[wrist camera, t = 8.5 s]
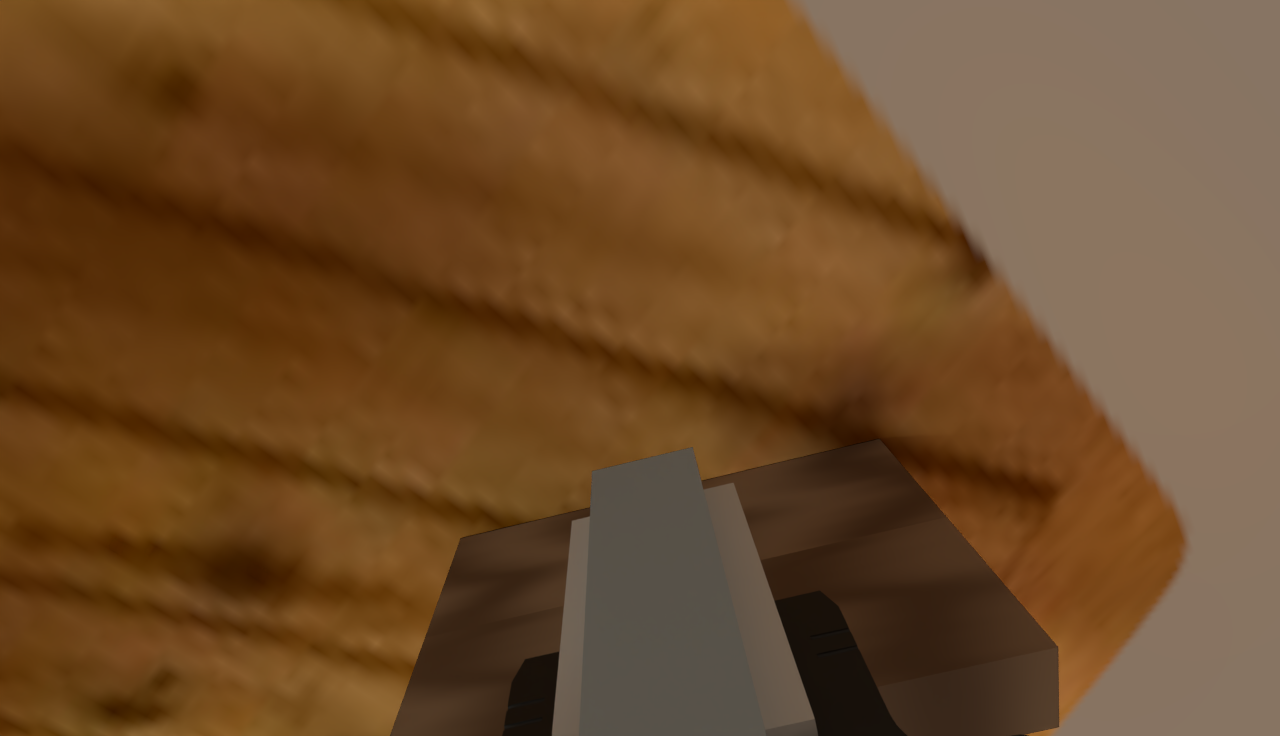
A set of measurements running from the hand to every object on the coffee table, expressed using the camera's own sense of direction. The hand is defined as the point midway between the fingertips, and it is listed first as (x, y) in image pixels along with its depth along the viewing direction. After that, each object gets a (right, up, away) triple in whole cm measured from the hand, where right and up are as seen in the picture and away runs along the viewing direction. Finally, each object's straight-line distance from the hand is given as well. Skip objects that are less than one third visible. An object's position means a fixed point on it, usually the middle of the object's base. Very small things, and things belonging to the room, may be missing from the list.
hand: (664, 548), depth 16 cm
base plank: (+1, -1, +8) cm, 9 cm away
